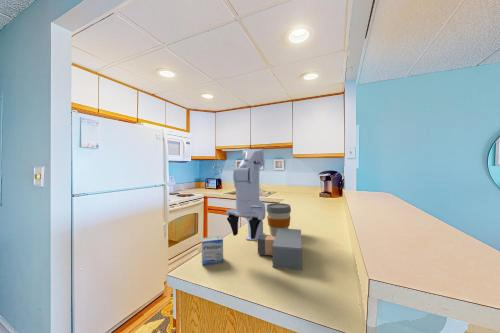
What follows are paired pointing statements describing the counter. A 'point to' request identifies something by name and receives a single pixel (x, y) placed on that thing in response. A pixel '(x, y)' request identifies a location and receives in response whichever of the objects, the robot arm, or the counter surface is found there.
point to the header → (287, 249)
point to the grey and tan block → (265, 245)
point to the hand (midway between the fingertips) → (244, 236)
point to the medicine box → (212, 250)
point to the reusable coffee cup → (278, 217)
